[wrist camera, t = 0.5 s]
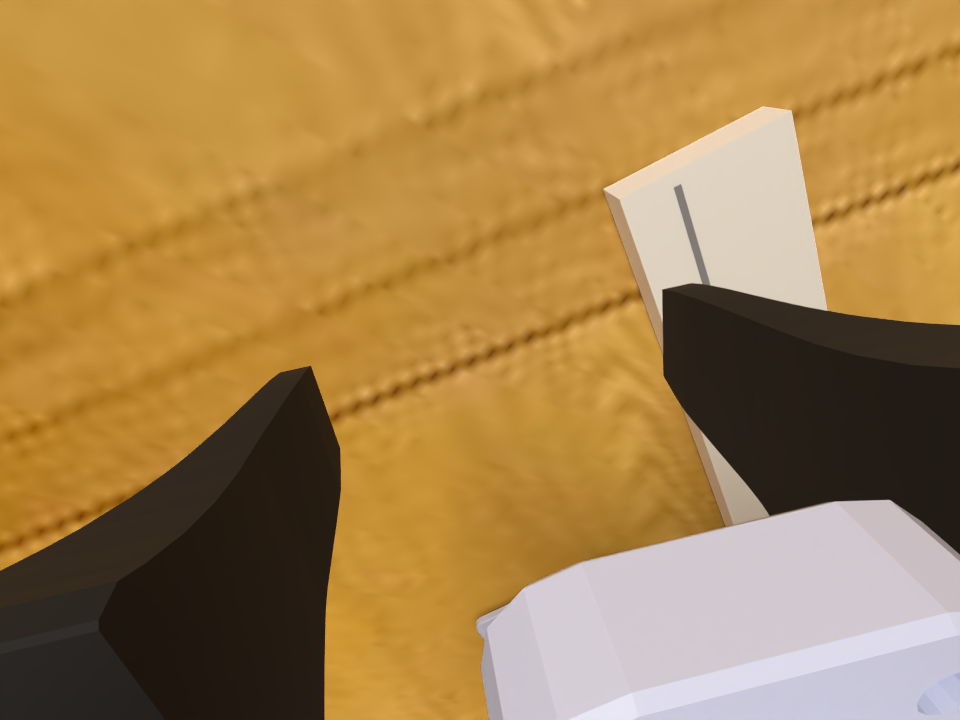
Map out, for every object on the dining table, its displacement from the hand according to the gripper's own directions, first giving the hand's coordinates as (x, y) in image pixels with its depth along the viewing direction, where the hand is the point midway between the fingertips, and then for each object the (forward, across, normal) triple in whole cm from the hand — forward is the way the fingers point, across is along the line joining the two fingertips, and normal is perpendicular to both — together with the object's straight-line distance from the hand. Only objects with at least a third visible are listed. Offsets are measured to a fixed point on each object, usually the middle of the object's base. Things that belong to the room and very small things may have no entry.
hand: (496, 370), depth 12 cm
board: (+10, -12, +9) cm, 18 cm away
